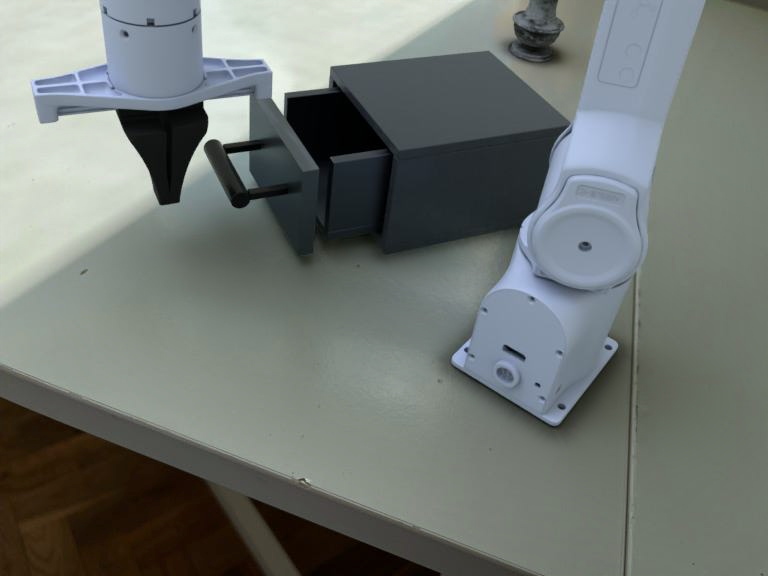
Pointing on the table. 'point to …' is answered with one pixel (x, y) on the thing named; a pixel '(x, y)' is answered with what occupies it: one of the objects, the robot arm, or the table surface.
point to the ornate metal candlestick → (536, 31)
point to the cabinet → (454, 144)
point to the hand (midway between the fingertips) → (166, 196)
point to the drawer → (310, 166)
